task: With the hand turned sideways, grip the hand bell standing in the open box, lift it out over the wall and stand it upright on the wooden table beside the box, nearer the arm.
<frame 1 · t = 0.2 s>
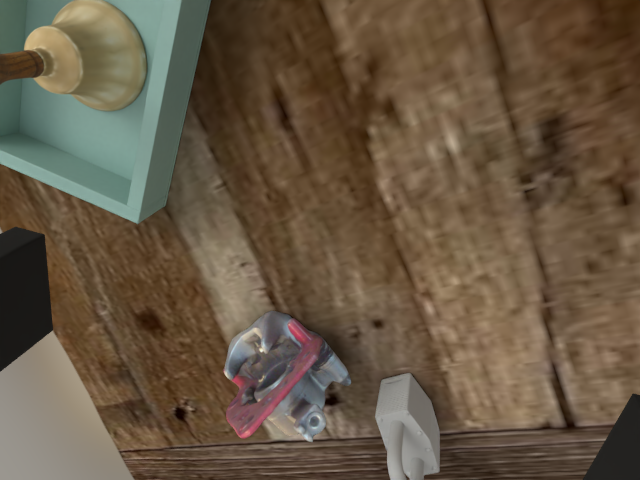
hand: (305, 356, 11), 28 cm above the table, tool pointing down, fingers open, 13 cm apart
hand bell: (100, 56, 39), resting on open box
open box: (102, 56, 39), on the table
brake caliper: (291, 350, 46), on the table
padlock: (410, 402, 46), on the table
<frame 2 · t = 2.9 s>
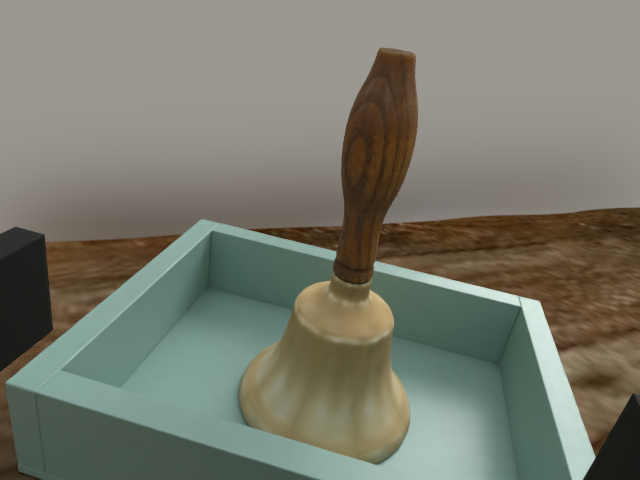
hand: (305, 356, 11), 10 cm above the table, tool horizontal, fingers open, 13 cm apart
hand bell: (324, 401, 24), resting on open box
open box: (323, 404, 24), on the table
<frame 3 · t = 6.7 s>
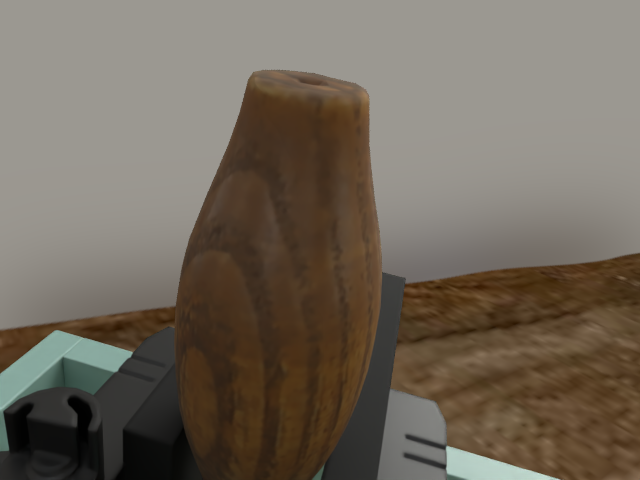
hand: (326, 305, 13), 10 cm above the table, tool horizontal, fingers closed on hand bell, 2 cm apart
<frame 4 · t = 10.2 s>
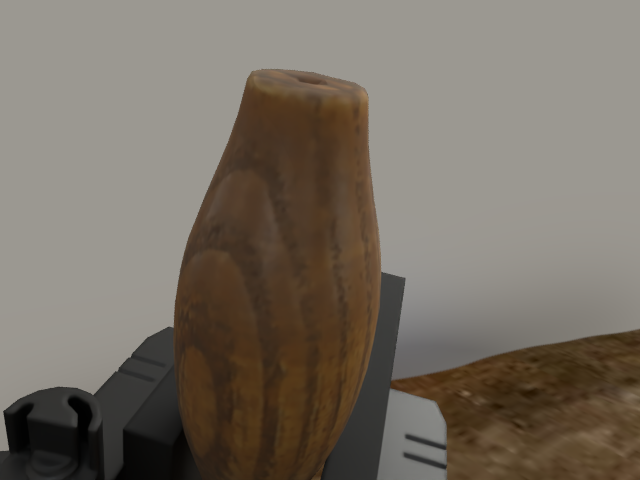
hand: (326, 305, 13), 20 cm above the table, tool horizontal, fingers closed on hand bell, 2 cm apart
when the fingers open (10 cm above the table, at t = 14.1 s): hand bell stays where it is, on the table.
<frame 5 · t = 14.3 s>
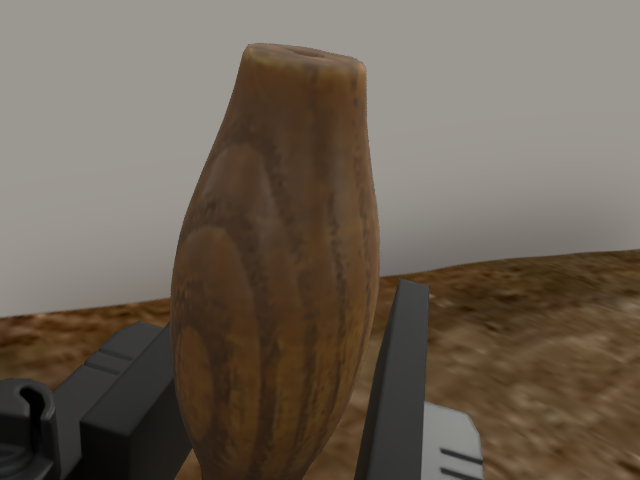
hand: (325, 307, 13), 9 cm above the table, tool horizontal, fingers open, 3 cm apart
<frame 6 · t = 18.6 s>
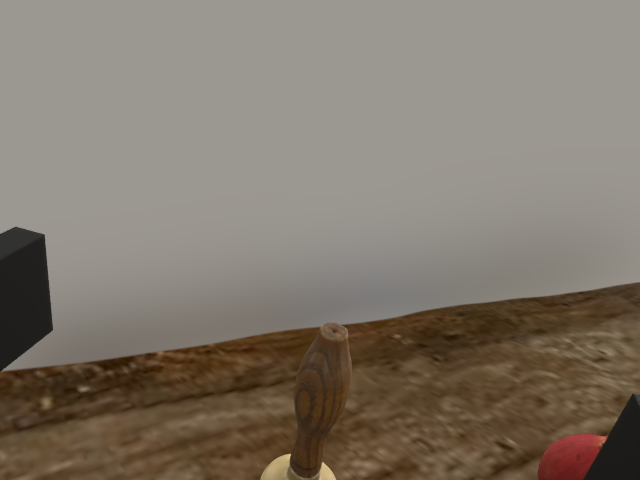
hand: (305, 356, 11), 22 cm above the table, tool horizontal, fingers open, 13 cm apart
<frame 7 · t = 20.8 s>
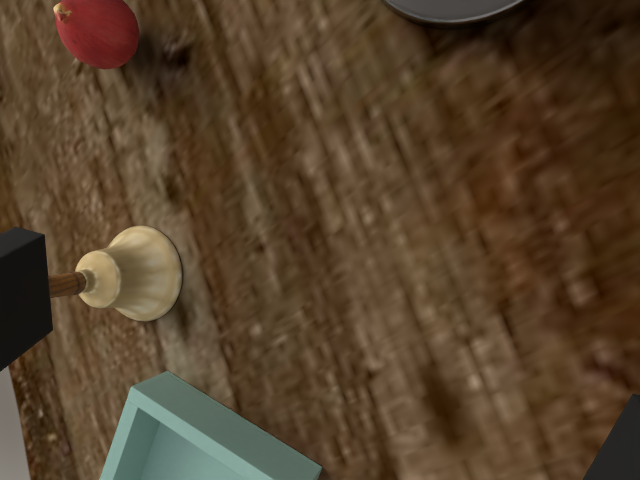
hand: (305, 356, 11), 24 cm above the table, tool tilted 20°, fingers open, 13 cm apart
hand bell: (144, 273, 43), on the table
onion: (134, 46, 43), on the table
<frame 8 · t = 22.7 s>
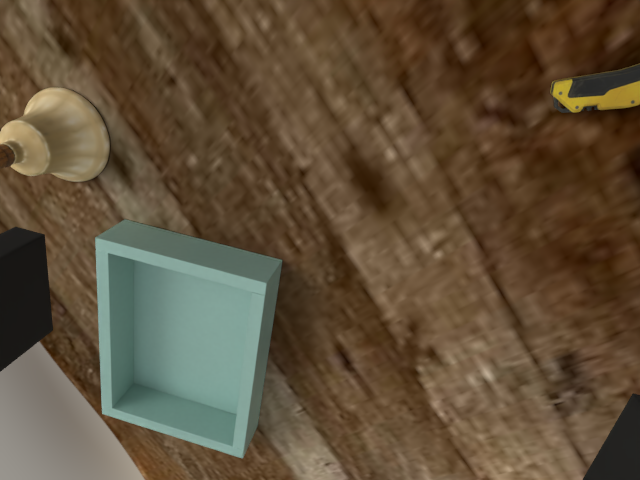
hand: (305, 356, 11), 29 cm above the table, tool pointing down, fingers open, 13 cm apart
hand bell: (69, 135, 44), on the table
open box: (195, 329, 49), on the table
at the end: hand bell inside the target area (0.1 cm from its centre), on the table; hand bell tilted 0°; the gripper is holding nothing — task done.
